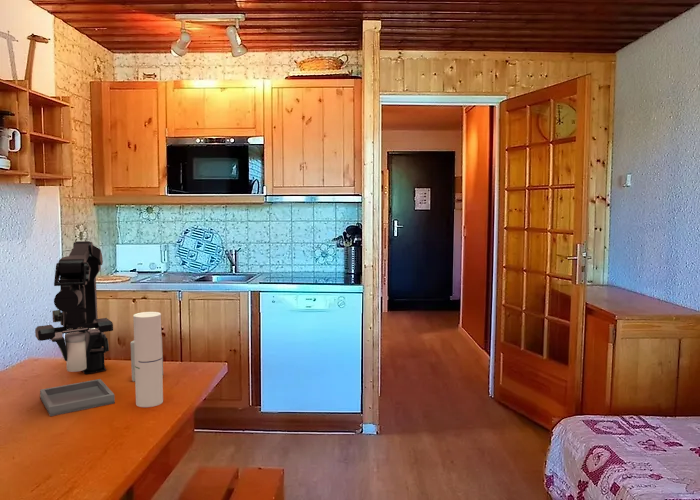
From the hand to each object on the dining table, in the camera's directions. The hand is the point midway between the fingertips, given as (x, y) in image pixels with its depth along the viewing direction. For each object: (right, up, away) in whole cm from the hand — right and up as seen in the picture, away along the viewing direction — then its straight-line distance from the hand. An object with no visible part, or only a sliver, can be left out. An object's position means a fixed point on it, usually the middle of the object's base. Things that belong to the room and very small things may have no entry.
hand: (76, 359), depth 155 cm
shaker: (0, -3, 0) cm, 3 cm away
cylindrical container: (+20, -13, +1) cm, 24 cm away
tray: (-1, -12, +2) cm, 12 cm away
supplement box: (+12, -10, +21) cm, 27 cm away
